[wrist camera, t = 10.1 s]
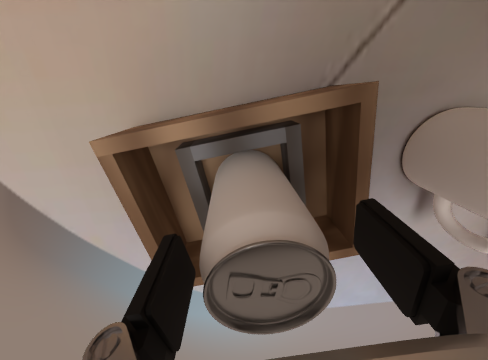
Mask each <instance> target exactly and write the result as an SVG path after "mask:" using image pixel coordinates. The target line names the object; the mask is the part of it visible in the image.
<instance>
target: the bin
mask: <svg viewBox="0 0 488 360" xmlns="http://www.w3.org/2000/svg"><path fill="white" fill-rule="evenodd" d="M378 85H379V81H376V82H365V83H355V84H345V85H335V86H328V87H323V88H319V89H314V90H309V91H304V92H300V93H295V94H290V95H285V96H280V97H276V98H271V99H266V100H261V101H257V102H252V103H247V104H242V105H238V106H233V107H228V108H223V109H219V110H214V111H209V112H204V113H199V114H195V115H190V116H185V117H180V118H176V119H171V120H166V121H161V122H157V123H152V124H147V125H142V126H138V127H133V128H130V129H127V130H124V131H121V132H118V133H115V134H112V135H108V136H105V137H102V138H99V139H96V140H93V141H90V142H89V143H90V145H91V147H92V149H93V151H94V153H95V154H96V156H97V158H98V160H99V162H100V164H101V166H102V168H103V169H104V171H105V173H106V175H107V177H108V179H109V181H110V183H111V185H112V186H113V188H114V190H115V192H116V194H117V196H118V198H119V200H120V202H121V203H122V205H123V207H124V209H125V211H126V213H127V215H128V217H129V218H130V220H131V222H132V224H133V226H134V228H135V230H136V232H137V234H138V235H139V237H140V239H141V241H142V243H143V245H144V247H145V249H146V251H147V252H148V254H149V256H150V258H151V260H152V259H153V257H154V255H155V253H156V251H157V249H158V247H159V245H160V243H161V241H162V238H163V237H164V236H165V235H169V234H177V236H181V238H182V241H183V243H184V245H185V248H186V250H187V252H188V254H189V257H190V259H191V261H192V263H193V266H194V268H195V272H196V276H195V281H194V286H198V285H203V284H204V283H203V280H202V277H201V273H200V267H199V261H200V251H201V245H202V240H203V235H204V229H205V224H206V219H207V214H208V209H209V205H210V200H211V195H212V190H213V185H214V181H215V176H216V173H217V170H218V168H219V166H220V165H221V163H222V162H223V161H224V160H225V159H226V158H227V157H229V156H230V155H232V154H234V153H238V152H243V151H247V150H255V151H260V152H262V153H265V154H266V155H268V156H269V157H271V158H272V159H273V160H274V161H275V162H276V164H277V165H278V166H279V168H280V169H281V171H282V172H283V174H284V175H285V177H286V178H287V179H288V181H289V182H290V184H291V185H292V187H293V188H294V190H295V191H296V193H297V194H298V196H299V197H300V199H301V200H302V202H303V203H304V205H305V206H306V208H307V209H308V211H309V212H310V214H311V215H312V217H313V218H314V220H315V221H316V223H317V224H318V226H319V228H320V229H321V231H322V233H323V235H324V237H325V239H326V241H327V245H328V249H329V260H334V259H339V258H345V257H350V256H355V255H359V254H358V252H357V251H356V249H355V247H354V244H353V239H354V227H355V215H356V205H357V204H359V202H360V201H361V200H365V199H369V187H370V176H371V164H372V153H373V142H374V130H375V119H376V107H377V96H378Z"/></svg>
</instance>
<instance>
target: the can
mask: <svg viewBox="0 0 488 360" xmlns="http://www.w3.org/2000/svg"><path fill="white" fill-rule="evenodd" d="M199 267H200V273H201V277H202V280H203V283H204V289H203V298H204V303H205V306H206V308H207V310H208V311H209V313H210V314H211V315H212V317H213V318H214V319H215V320H217V321H218V322H219V323H221V324H222V325H224V326H226V327H228V328H230V329H233V330H235V331H239V332H243V333H248V334H273V333H280V332H284V331H288V330H291V329H294V328H297V327H299V326H302V325H304V324H306V323H307V322H309V321H311V320H312V319H314V318H315V317H316V316H318V315H319V314H320V313H321V312H322V311H323V310H324V309H325V308H326V307H327V306H328V304H329V303H330V301H331V300H332V298H333V295H334V293H335V289H336V274H335V271H334V268H333V266H332V265H331V263H330V262H329V249H328V245H327V241H326V239H325V237H324V235H323V233H322V231H321V229H320V228H319V226H318V224H317V223H316V221H315V220H314V218H313V217H312V215H311V214H310V212H309V211H308V209H307V208H306V206H305V205H304V203H303V202H302V200H301V199H300V197H299V196H298V194H297V193H296V191H295V190H294V188H293V187H292V185H291V184H290V182H289V181H288V179H287V178H286V177H285V175H284V174H283V172H282V171H281V169H280V168H279V166H278V165H277V164H276V162H275V161H274V160H273V159H272V158H271V157H269V156H268V155H266V154H265V153H262V152H260V151H255V150H247V151H243V152H238V153H234V154H232V155H230V156H229V157H227V158H226V159H225V160H224V161H223V162H222V163H221V165H220V166H219V168H218V170H217V173H216V176H215V181H214V185H213V190H212V195H211V200H210V205H209V209H208V214H207V219H206V224H205V229H204V235H203V240H202V245H201V251H200V261H199Z"/></svg>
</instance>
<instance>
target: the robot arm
mask: <svg viewBox="0 0 488 360" xmlns="http://www.w3.org/2000/svg"><path fill="white" fill-rule="evenodd" d="M353 244H354V247H355V249H356V251H357V252H358V254H359V255H360V256H361V258H362V259H363V260H364V262H365V263H366V264H367V266H368V267H369V268H370V270H371V271H372V272H373V274H374V275H375V277H376V278H377V279H378V281H379V282H380V283H381V285H382V286H383V287H384V289H385V290H386V291H387V293H388V294H389V296H390V297H391V298H392V300H393V301H394V302H395V304H396V305H397V306H398V308H399V309H400V310H401V312H402V313H403V314H404V315H405V316H406V317H410V319H411V320H412V321H413V323H414V324H415V325H421V324H428V323H429V324H430V325H431V327H432V328H433V329H434V330H435V337H429V338H421V339H412V340H404V341H397V342H389V343H382V344H376V345H368V346H360V347H353V348H346V349H338V350H331V351H324V352H318V353H310V354H303V355H296V356H290V357H282V358H275V359H269V360H488V270H486V269H483V268H478V267H465V268H461V269H459V268H458V267H457V266H456V265H454V264H455V263H453V262H452V261H451V260H450V259H448V258H447V257H446V256H445V255H443V254H442V253H441V252H440V251H438V250H437V249H436V248H435V247H434V246H432V245H431V244H430V243H429V242H427V241H426V240H425V239H424V238H422V237H421V236H420V235H419V234H417V233H416V232H415V231H414V230H412V229H411V228H410V227H409V226H407V225H406V224H405V223H404V222H402V221H401V220H400V219H399V218H397V217H396V216H395V215H394V214H393V213H391V212H390V211H389V210H388V209H386V208H385V207H384V206H383V205H381V204H380V203H379V202H378V201H376V200H375V199H373V198H371V199H365V200H361V201H360V202H359V204H357V205H356V215H355V227H354V239H353ZM195 276H196V272H195V268H194V266H193V263H192V261H191V259H190V257H189V254H188V252H187V250H186V248H185V245H184V243H183V241H182V238H181V236H177V234H169V235H165V236H164V237H163V238H162V241H161V243H160V245H159V247H158V249H157V251H156V253H155V255H154V257H153V259H152V261H151V263H150V265H149V267H148V268H147V270H146V272H145V274H144V277H143V278H142V281H141V283H140V285H139V287H138V289H137V291H136V293H135V295H134V297H133V299H132V301H131V303H130V305H129V307H128V309H127V311H126V313H125V315H124V317H123V319H122V322H115V323H113V324H110V325H108V326H107V327H105V328H104V329H102V330H101V331H100V332H99V333H98V334H97V335H96V336H95V337H94V338H93V339H92V340H91V342H90V343H89V345H88V346H87V348H86V350H85V352H84V355H83V360H174V359H175V355H176V351H179V349H180V346H181V342H182V337H183V332H184V328H185V323H186V318H187V314H188V309H189V304H190V299H191V295H192V290H193V286H194V281H195Z"/></svg>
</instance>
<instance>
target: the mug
mask: <svg viewBox="0 0 488 360" xmlns="http://www.w3.org/2000/svg"><path fill="white" fill-rule="evenodd" d="M402 166H403V170H404V173H405V175H406V176H407V178H408V179H409V180H410V181H412V182H413V183H415V184H416V185H418V186H420V187H422V188H424V189H426V190H428V191H430V192H432V193H434V197H433V211H434V214H435V217H436V219H437V221H438V222H439V224H440V225H441V226H442V227H443V229H444V230H445V231H446V232H447V233H448V234H450V235H451V236H452V237H453V238H455V239H456V240H457V241H459V242H461V243H462V244H464V245H466V246H468V247H470V248H472V249H474V250H477V251H480V252H482V253H486V254H488V238H485V237H481V236H479V235H476V234H474V233H472V232H470V231H469V230H467V229H466V228H464V227H463V226H462V225H461V224H460V223H459V222H458V221H457V220H456V219H455V217H454V215H453V213H452V202H453V203H455V204H457V205H459V206H461V207H463V208H465V209H467V210H469V211H471V212H473V213H475V214H478V215H480V216H482V217H484V218H486V219H488V108H473V107H463V108H454V109H450V110H447V111H444V112H441V113H439V114H437V115H435V116H433V117H431V118H430V119H428V120H427V121H426V122H424V123H423V124H422V125H421V126H420V127H419V128H418V129H417V130H416V131H415V132H414V133H413V135H412V136H411V137H410V139H409V141H408V142H407V144H406V146H405V149H404V152H403V158H402Z"/></svg>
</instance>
